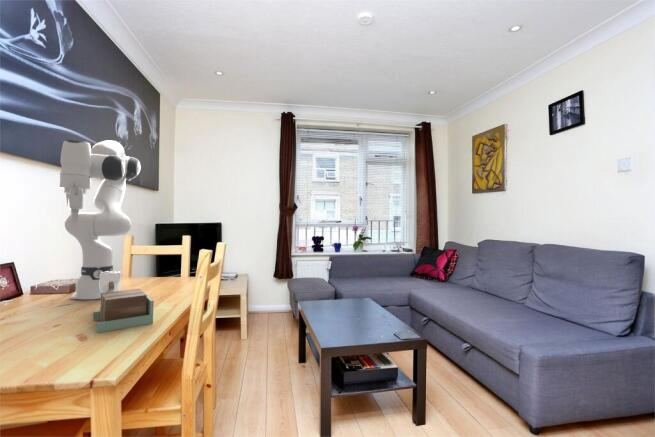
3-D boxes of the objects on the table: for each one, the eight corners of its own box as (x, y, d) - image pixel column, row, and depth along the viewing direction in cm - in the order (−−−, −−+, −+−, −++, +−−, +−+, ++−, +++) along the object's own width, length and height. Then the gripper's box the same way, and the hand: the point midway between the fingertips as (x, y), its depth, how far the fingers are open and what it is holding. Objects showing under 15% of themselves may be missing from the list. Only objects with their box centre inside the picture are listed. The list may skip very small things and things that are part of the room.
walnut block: (100, 320, 111) (101, 293, 111) (138, 314, 119) (139, 288, 119) (104, 330, 102) (105, 299, 102) (145, 322, 110) (146, 294, 110)
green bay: (92, 320, 111) (93, 297, 111) (143, 312, 122) (144, 292, 122) (96, 332, 99) (97, 307, 99) (152, 323, 110) (153, 300, 110)
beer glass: (108, 312, 120) (109, 274, 120) (93, 311, 122) (95, 273, 122) (123, 307, 127) (124, 271, 127) (109, 306, 128) (110, 270, 129)
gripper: (88, 182, 107) (87, 222, 107) (84, 186, 122) (83, 221, 122) (64, 180, 103) (63, 222, 102) (63, 185, 118) (62, 221, 118)
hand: (74, 222), depth 112 cm, fingers closed
